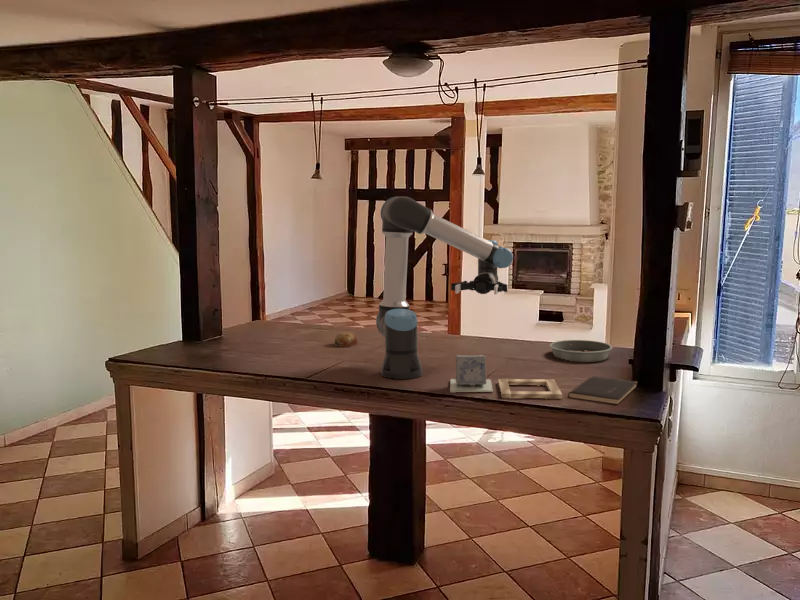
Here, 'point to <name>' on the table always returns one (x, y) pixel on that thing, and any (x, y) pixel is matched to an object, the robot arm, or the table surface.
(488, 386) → the sage tile
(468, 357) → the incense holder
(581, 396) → the hardcover book
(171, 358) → the table surface
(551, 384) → the frame
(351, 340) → the bread roll
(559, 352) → the cake pan
